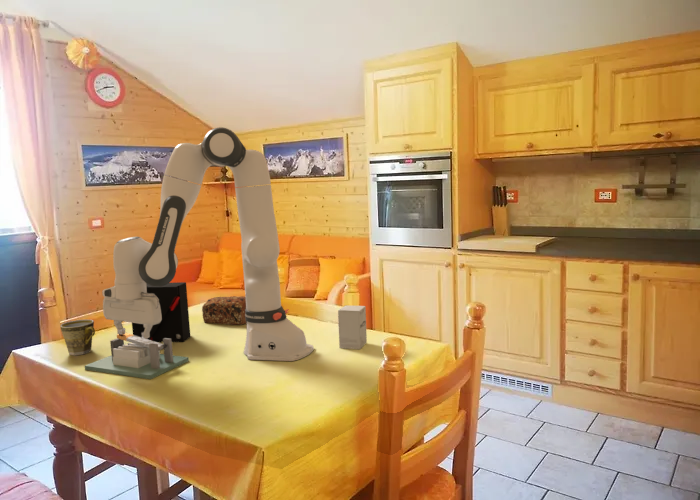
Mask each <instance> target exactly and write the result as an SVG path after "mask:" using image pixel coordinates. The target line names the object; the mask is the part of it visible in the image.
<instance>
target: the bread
mask: <svg viewBox="0 0 700 500" xmlns="http://www.w3.org/2000/svg"><path fill="white" fill-rule="evenodd" d="M245 309H246V298H245V296H242V295H240V296H234V295H233V296H217V297H211V298H209V299H207V300H206V301H205V303H204V304H203V305H202V307H201V312H202V318H203V322H204V323H205V324H215V325H216V324H217V325H231V326H238V325H247V323H246V320H245Z"/></svg>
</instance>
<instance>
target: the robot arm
mask: <svg viewBox="0 0 700 500" xmlns="http://www.w3.org/2000/svg"><path fill="white" fill-rule="evenodd" d="M168 159H169V160H168V161H167V165H166V167H165V171H164V175H163V177H162V184H161V187H160V188H161V189H160V190H161V191H160V210H159V211H160V212H159V219H158V223H157V225H156V230H155V233H154V237H153V240H152V243H151V242H149V241H146V240H145V239H143V238H142V237H141V236H131V237H126V238H122V239H120V240H118V241H116V243H115V244H114V246H113V253H112V254H113V256H112V258H113V259H112V260H113V270H114V273H115V278H114V285H113V286H111V287H109V288H105V289H103V290H102V296H103V300H102V311H103V316H104V317H105V319H106V320H111V321H113V324H114V326H115V328H116V331H117V332H116V333H117V334H116V335H118V334H119V335H123V334H125V333H126V328H125V327H124V325H123V324H122V323H123V322H125V323H131V324H132V323H139V324H144V328H145V330H144V332H142V338H146V339H147V338H149V337H150V330H151V328H152V325H155V324H158V323H160V322H161V320H162V315H161V308H160V304H159V299H158V297H157V296H156V295H155V294H153V293H147V285H146V283H147V284H149V285H151V286H164V285H166V284H168V283H172V280H174V278H175V276H176V273H177V268H178V264H179V259H178V256H177V254H176V253H175V249H176V246H177V242H178V239H179V235H180V231H181V228H182V224H183V222H184V220H185V219H186V217H187V215H188V214H189V212H190V211H191V210H192V209H193V207H194V205H195V203H196V201H197V199H198V196H199V194H200V191H201V188H202V185H203V180H204V177H205V174H206V171H207V170H208V168H209V167H210V168H211V167H213V168H214V167H215V168H216V167H217V168H219V167H221V168H222V167H223V168H224V167H227V168H229V169H230V170H231V173H232V175H233V180H234V190H235V199H236V207H237V215H238V221H239V223H238V224H239V229H240V236H241V244H240V245H241V246H240V247H241V249H240V250H241V259H242V270H243V282H244V293H245V296H244V297H245V298H246V309H245V320H246V335H245V336H246V337H245V338H246V339H245V346H244V350H243V353H244V355H245V356H246V357H247V360H252V361H253V360H254V361H256V360H257V361H281V362H282V361H283V362H284V361H285V362H286V361H287V362H292V361H293V362H294V361H297V360H300V359H303V358H305V357H307V356H309V355H310V354H311V353H313V351H314V349H315V348H314V345H313V344H309V343H307V339H306V338H307V337H306V335H305V332H304V331H303V329H301V328H300V327H299V326H297V325H296V324H295V323H293V322H292V321H291V320H290V319H288V318H287V317H288V316H287V314H289V309H284V306H282V301H281V300H282V298H281V283H280V277H279V275H280V274H279V269H278V259H279V256H280V250H281V249H280V243H279V234H278V233H279V232H278V228H277V221H276V215H275V209H274V201H273V200H274V198H273V192H272V183H271V176H270V171H269V167H268V163H267V160H266V156H265V155H264V153H263V152H261V151H259V150H256V149H247V148H246V146H245V145H244V144H243V142H242V141H241V140H240V138H239V137H238V136H237V135H236V133H235V132H234V131H233V130H231V129H230V128H227V127H222V126H219V127H214V128H213V129H210V130H209V131H208V132H207V133H206V134H205V135H204V138H203V140H202V142H201V143H199V144H195V143H191V142H183V143H179V144H177V145H176V146H175V147H174V148H173V150H172V153H171V155H170V157H169V158H168Z"/></svg>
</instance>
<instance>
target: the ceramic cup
mask: <svg viewBox="0 0 700 500" xmlns="http://www.w3.org/2000/svg"><path fill="white" fill-rule="evenodd" d="M94 324H95V321H94V320H93V319H76V320H72V321H71V320H70V321H67V322H64V323H62V324H61V325H60V331H61V334H62V337H63V340H64V342H65V345H66V348H67V352H68V354H69V355H70V356H81V355H85V354H89V353H91V352H92V347H93V346H92V344H93V337H94V336H95V335H96V330H95V328H94V327H95V325H94Z"/></svg>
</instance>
